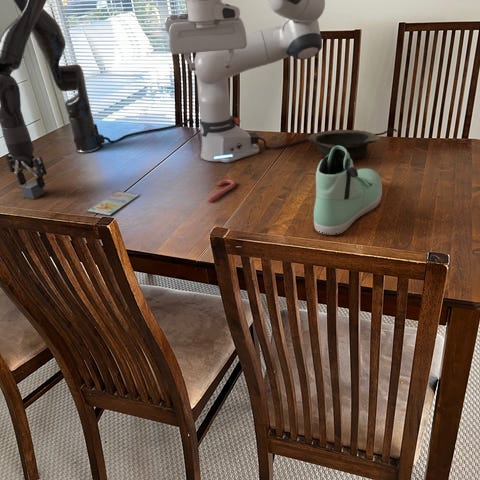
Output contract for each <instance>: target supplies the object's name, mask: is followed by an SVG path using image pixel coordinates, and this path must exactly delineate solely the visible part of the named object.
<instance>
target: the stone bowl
mask: <svg viewBox="0 0 480 480" xmlns="http://www.w3.org/2000/svg"><path fill="white" fill-rule="evenodd" d="M375 134H376V133H372V132H369V131H367V130H359V129H335V130H331V129H330V130H324V131H319V132H314V133H312V134H310V135H308V138H307V139H308V141H307V142H310V143H313V144H314V145H315V144H316V150H317V152H318V153H319V155H320V156H321V157H323V158H325V157H326V156H327V155H329V154H330V152H331V149H332V148H333V147H334V146H342V147H344V148H345V149H346V150H347V152H348V153H349V156H350V159H352V161H353V162H354V160H355V159H365V158H366V156H367V153H368V147H369V144H370V145H371V144H373V143H375V142H377V141H378V140H380V136H379V135H375Z"/></svg>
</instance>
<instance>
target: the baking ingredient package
mask: <svg viewBox="0 0 480 480" xmlns="http://www.w3.org/2000/svg"><path fill="white" fill-rule="evenodd" d="M137 197H139V194H135V193H129V192H123V191H115V192H114V193H113V194H111V195H109V196H108V197H106V198H104V199H103V200H102V201H100V202H98V203H97V204H94V205H93V206H92V207H91V208H89V209H87V212H91V213H97V214H100V215H101V214H102V215H106V216H111V215H113V213H115V212H116V211H118V210H119V209H121V208H122V207H124V206H125V205H127V204H129V203H130V202H132V201H133V200H134V199H136V198H137Z"/></svg>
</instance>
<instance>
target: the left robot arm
mask: <svg viewBox="0 0 480 480" xmlns="http://www.w3.org/2000/svg"><path fill="white" fill-rule="evenodd" d="M13 2H14V3H15V5H16V7H17V8H18V10H19V11H20V14H19V15H18V16H17V18H15V19H14V20H13V21H12V22H11V23H10V24H9V25H7V27H6V28H5V29H4V30H3V32H2V34H1V36H0V127H1V132H2V137H3V139H4V143H5V145H6V149H7V151H8V154H7V155H5V159H6V162H7V166H8V169H9V172H10V173H13V174H14V175H15V176H16V178H17V182H18V184H19V185H20V186H23V185H25V184H27V179H26V177H25V173H24V172H23V171H24V170H26V171H28V172H29V173H30V174H32V175H33V176H34V177H35V181H36V182H37V185H38V188H43V189H44V188H45V186H46V182H45V180H44V176H45V175H47V174H48V172H47V169H46V166H45V164H44V160H43V158H42V157H41V156H38V157H35V156H34V151H35V148H34V145H33V142H32V138H31V135H30V131H29V128H28V127H27V125H26V122H25V118H24V115H23V112H22V100H21V90H20V86H19V84H18V82H17V80H16V79H15V78H14V77H13V76H12V73H13V72H14V71H16V70H19V69H20V67H21V64H22V61H23V58H24V55H25V51H26V48H27V46H28V45H27V44H28V42H29V39H30V37H31V35H32V36H33V38H34V40H35V42H36V43H37V44H36V45H37V46H38V48H39V50H40V52H41V53H42V55H43V58H44V60H45V62H46V64H47V66H48V70H49V72H50V74H51V77H52V79H53V82H54V84H55V86H56V88H57V89H58V90H59V91H60V92H73V91H77V94H75V96H73V97H71V98H68V99H67V100H65V102H64V106H65V110H66V114H67V115H66V116H67V118H68V122H69V126H70V130H71V133H72V137H73V143H74V145H75V148H76V149H75V150H76V152H77V153H80V154H87V153H92V152H96V151H97V150H99V149H100V148H102V144H105V143H106V142H105V140H106V141H108V143H110V144H115V143H118V142H120V141H122V140H124V139H126V138H129V137H132V136H136V135H137V136H138V135H141V134H146V133H151V132H159V131H165V130H169V129H175V128H178V127H182V126H184V125H186V124H187V123H188V122H191V123H194V122H195V121H194V120H193V119H192V118H188V119H186V120H184V121H183V122H181V123H177V124H174V125H167V126H165V127H158V128H151V129H145V130H140V131H136V132H131V133H127V134H125V135H122V136H120V137H119V138H118V139H116V140H111V138H109V137H108V136H104V134H100V133H99V129H98V125H97V123H95V121H94V116H93V113H92V108H91V104H90V99H89V94H88V90H87V85H86V77H85V75H84V74H85V73H84V71H83V68H82V66H81V65H79V64H66V65H60V61H61V58H62V56H63V54H64V52H65V49H66V45H67V44H66V38H65V36H64V34H63V31H62V29H61V26H60V24H59V23H58V22H57V21H56V20H55V18H54V17H53V16H52V15H51V14H50V13H49V12H47V11H46V10H45V9H44V7H45V5H46V3H47V0H13Z"/></svg>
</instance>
